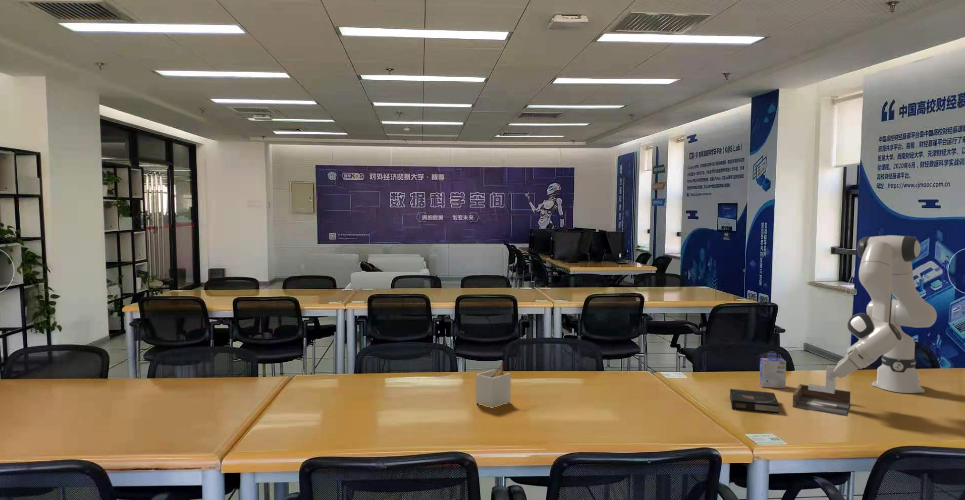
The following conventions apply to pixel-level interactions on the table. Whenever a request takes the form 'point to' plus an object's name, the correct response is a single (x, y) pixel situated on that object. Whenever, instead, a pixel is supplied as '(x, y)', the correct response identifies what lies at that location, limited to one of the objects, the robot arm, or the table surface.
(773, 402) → the flat black box
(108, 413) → the table surface
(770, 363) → the ink cartridge box
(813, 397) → the corner arena
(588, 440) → the table surface
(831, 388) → the angle bracket
